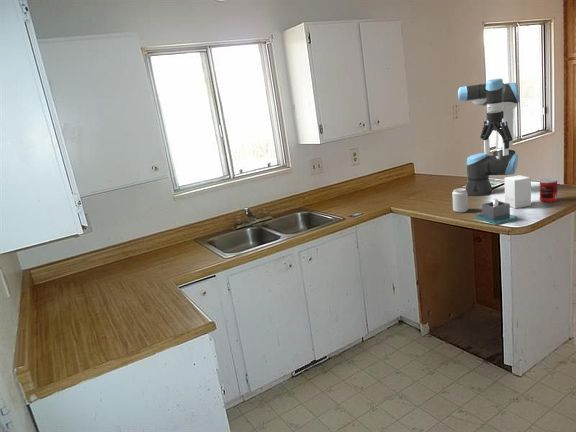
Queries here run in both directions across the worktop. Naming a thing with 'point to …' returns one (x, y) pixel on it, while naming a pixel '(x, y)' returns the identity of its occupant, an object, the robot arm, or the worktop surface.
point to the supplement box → (518, 191)
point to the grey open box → (496, 210)
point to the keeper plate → (496, 221)
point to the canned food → (548, 190)
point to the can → (460, 200)
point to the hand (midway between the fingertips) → (496, 153)
